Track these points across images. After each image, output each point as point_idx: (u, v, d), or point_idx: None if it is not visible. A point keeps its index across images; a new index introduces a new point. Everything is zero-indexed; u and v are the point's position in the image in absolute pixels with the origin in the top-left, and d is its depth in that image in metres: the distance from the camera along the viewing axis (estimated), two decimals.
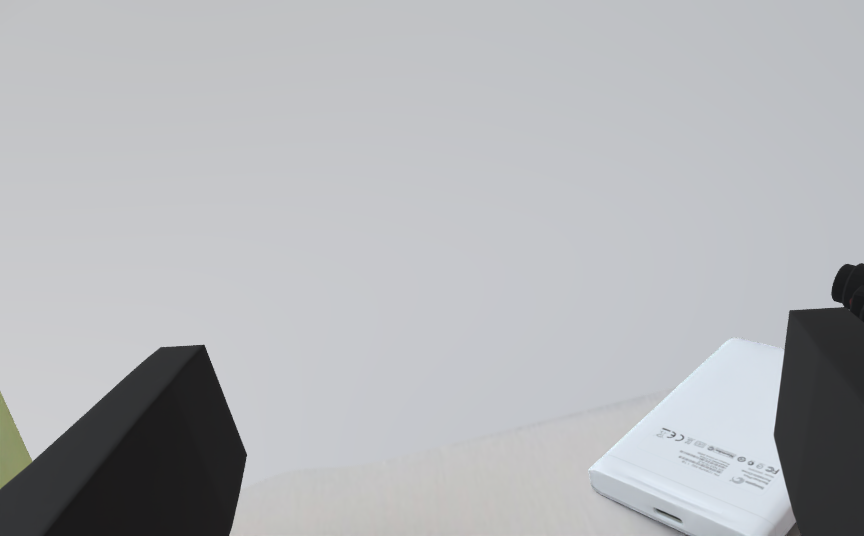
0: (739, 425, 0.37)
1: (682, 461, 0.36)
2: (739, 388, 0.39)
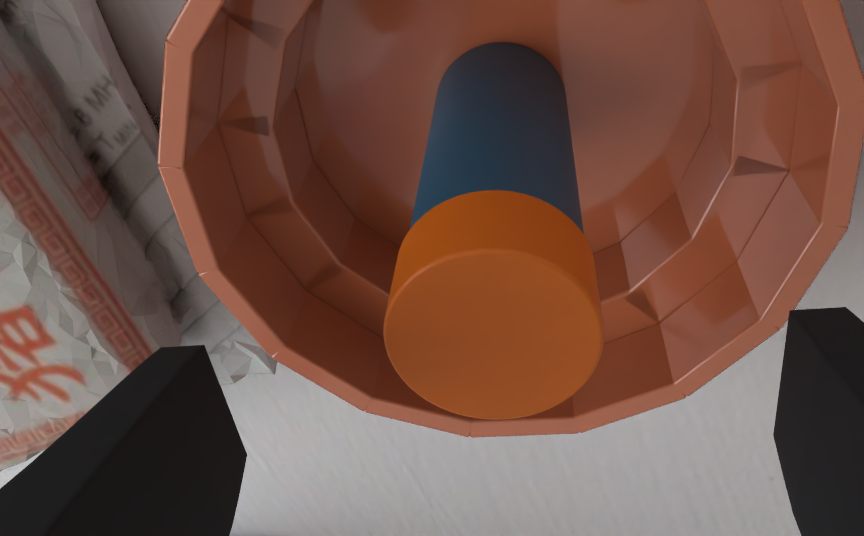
0: None
1: None
2: None
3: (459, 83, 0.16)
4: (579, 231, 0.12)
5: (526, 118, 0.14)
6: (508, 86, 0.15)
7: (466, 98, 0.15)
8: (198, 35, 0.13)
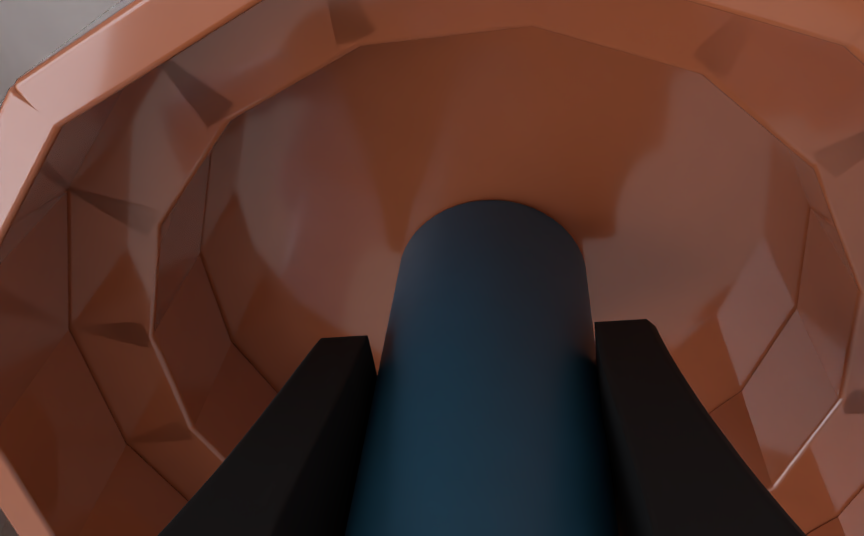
0: None
1: None
2: None
3: (427, 280, 0.10)
4: None
5: (529, 380, 0.08)
6: (502, 302, 0.09)
7: (436, 323, 0.09)
8: None
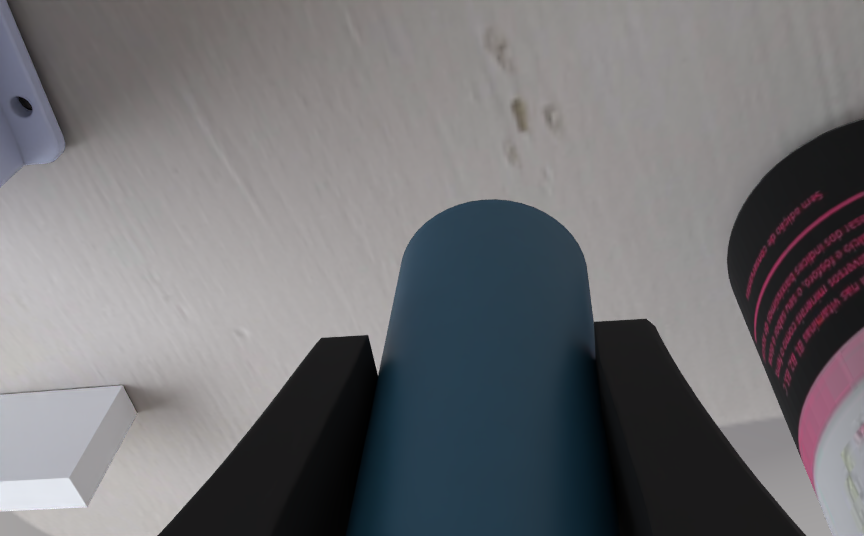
0: None
1: None
2: None
3: (428, 279, 0.10)
4: None
5: (530, 380, 0.08)
6: (503, 301, 0.09)
7: (437, 323, 0.09)
8: None
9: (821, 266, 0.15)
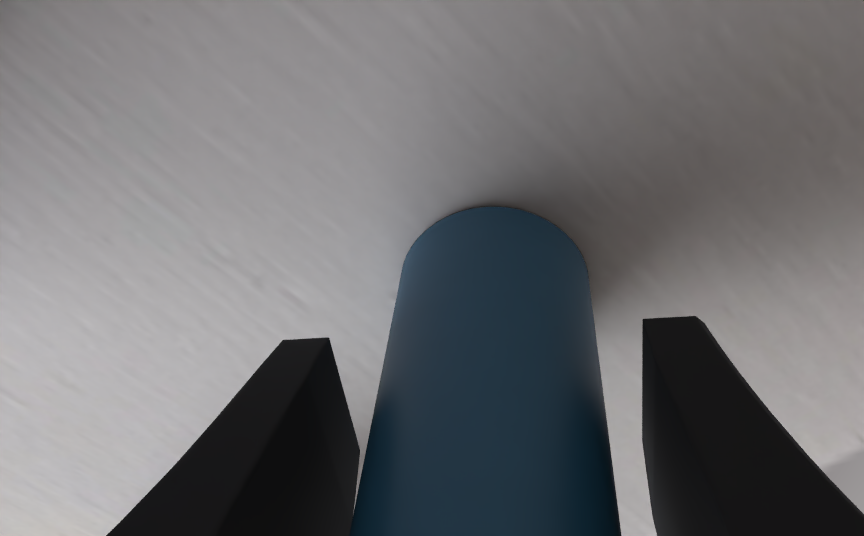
0: None
1: None
2: None
3: (429, 287, 0.10)
4: None
5: (532, 389, 0.08)
6: (504, 311, 0.09)
7: (438, 331, 0.09)
8: None
9: None
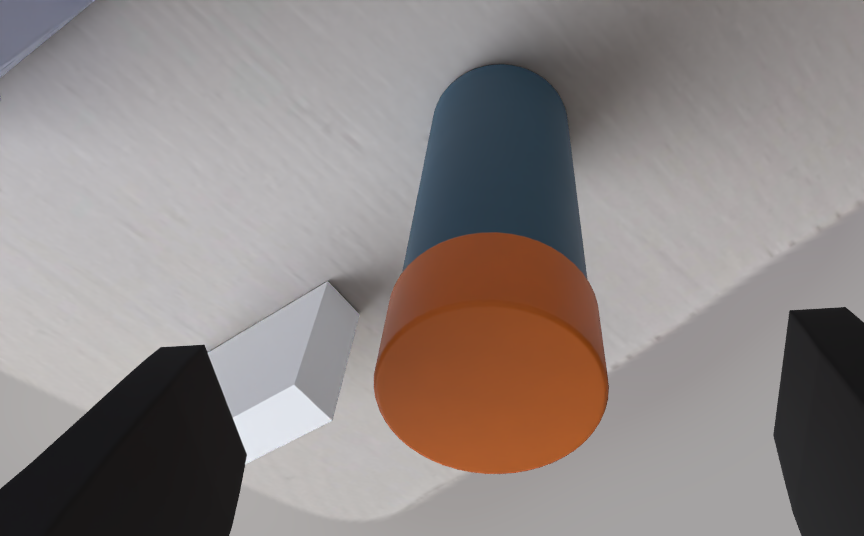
0: None
1: None
2: None
3: (456, 109, 0.15)
4: (582, 276, 0.11)
5: (526, 150, 0.13)
6: (507, 114, 0.14)
7: (463, 126, 0.14)
8: None
9: None
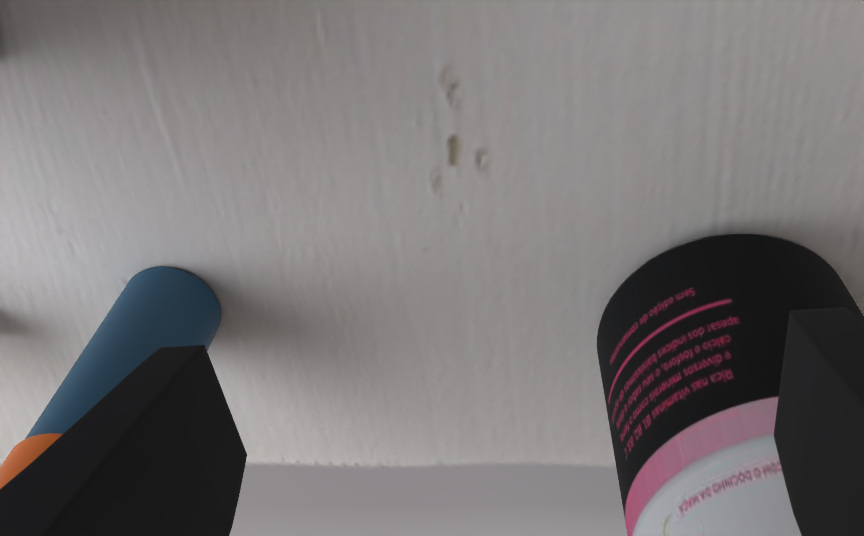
0: None
1: None
2: None
3: (149, 303, 0.21)
4: None
5: None
6: (174, 336, 0.21)
7: (143, 329, 0.20)
8: None
9: (680, 356, 0.17)
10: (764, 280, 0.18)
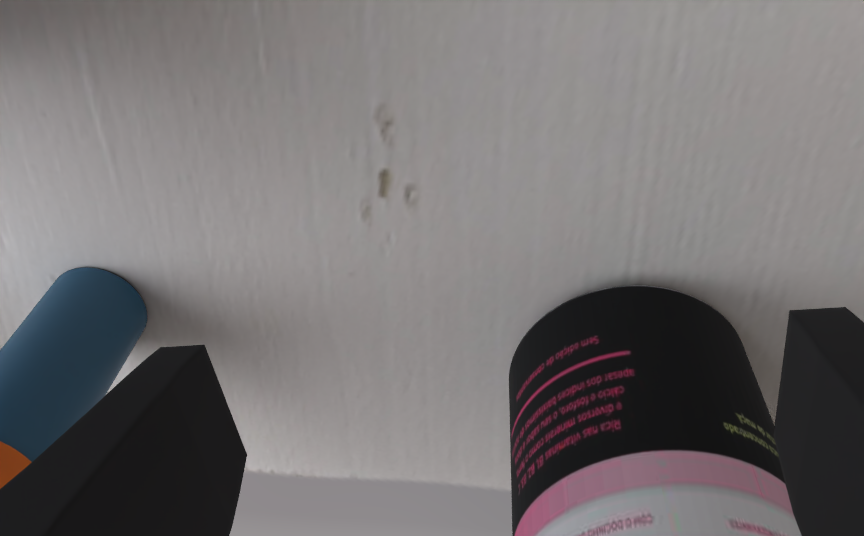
0: None
1: None
2: None
3: (74, 304, 0.22)
4: None
5: (84, 379, 0.20)
6: (96, 339, 0.21)
7: (65, 330, 0.21)
8: None
9: (577, 401, 0.18)
10: (663, 336, 0.19)
